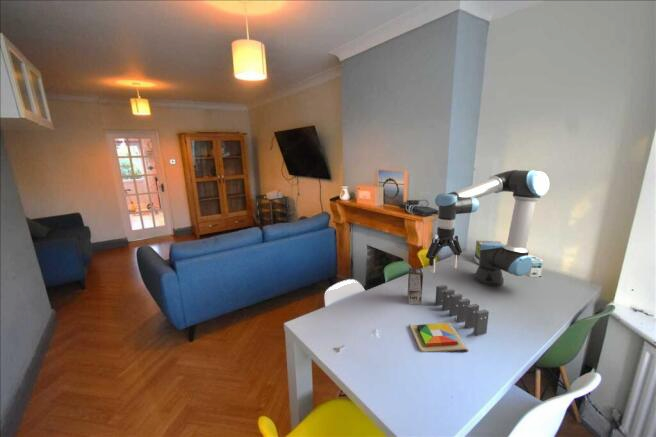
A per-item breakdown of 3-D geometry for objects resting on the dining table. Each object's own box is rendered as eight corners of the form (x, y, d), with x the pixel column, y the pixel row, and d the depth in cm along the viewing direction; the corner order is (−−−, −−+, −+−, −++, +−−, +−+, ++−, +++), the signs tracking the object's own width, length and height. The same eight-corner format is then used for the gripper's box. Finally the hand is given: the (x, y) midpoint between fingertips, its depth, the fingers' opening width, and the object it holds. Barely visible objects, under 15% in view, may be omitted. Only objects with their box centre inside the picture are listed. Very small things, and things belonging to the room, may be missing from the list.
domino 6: (473, 333, 120) (475, 311, 118) (482, 330, 121) (485, 309, 119) (477, 335, 118) (479, 314, 116) (486, 333, 119) (489, 311, 117)
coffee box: (421, 305, 143) (423, 274, 139) (408, 303, 144) (409, 274, 141) (419, 296, 151) (421, 267, 148) (407, 295, 153) (408, 267, 149)
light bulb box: (541, 277, 172) (544, 260, 169) (530, 277, 172) (532, 260, 170) (529, 270, 182) (531, 254, 180) (518, 270, 182) (520, 254, 180)
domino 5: (464, 326, 124) (466, 305, 122) (473, 324, 126) (476, 303, 124) (468, 329, 123) (470, 307, 120) (477, 326, 124) (479, 306, 122)
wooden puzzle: (408, 326, 126) (408, 319, 125) (451, 326, 126) (451, 319, 125) (419, 353, 109) (420, 345, 108) (469, 353, 109) (470, 345, 108)
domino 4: (456, 320, 129) (458, 300, 127) (465, 318, 131) (467, 298, 128) (459, 322, 127) (461, 302, 125) (468, 320, 129) (470, 300, 126)
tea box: (478, 265, 191) (481, 244, 188) (473, 260, 201) (475, 240, 198) (503, 266, 189) (505, 245, 186) (497, 261, 199) (499, 240, 195)
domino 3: (448, 314, 134) (450, 295, 132) (457, 312, 135) (459, 293, 133) (451, 316, 132) (453, 297, 130) (460, 315, 133) (462, 295, 131)
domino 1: (435, 304, 143) (436, 285, 141) (443, 302, 145) (445, 284, 142) (437, 306, 141) (439, 287, 139) (446, 304, 143) (447, 286, 140)
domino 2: (441, 309, 139) (443, 290, 136) (450, 307, 140) (452, 288, 138) (444, 311, 137) (446, 292, 134) (453, 309, 138) (455, 290, 136)
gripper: (459, 222, 143) (456, 262, 147) (419, 228, 133) (417, 270, 138) (472, 225, 136) (468, 267, 140) (430, 232, 127) (428, 276, 131)
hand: (443, 269), depth 139 cm, fingers open, 13 cm apart
